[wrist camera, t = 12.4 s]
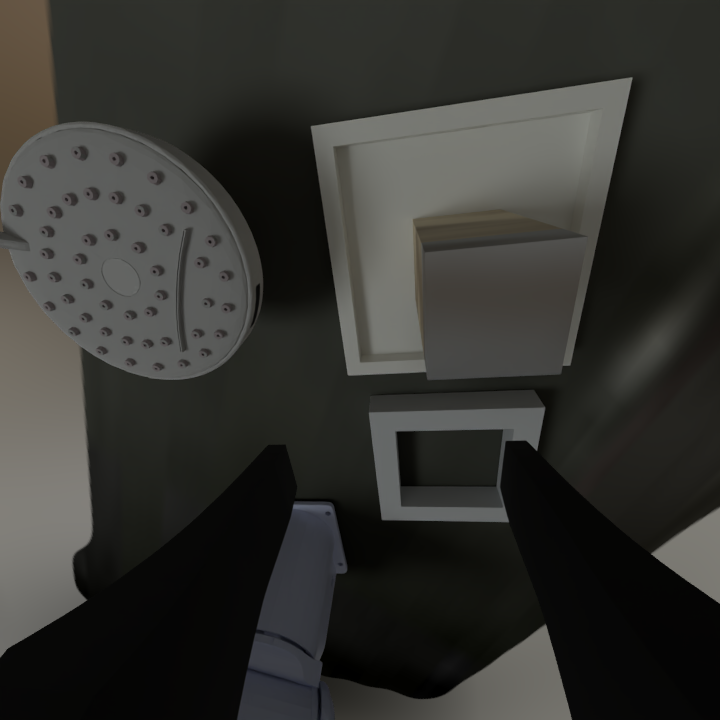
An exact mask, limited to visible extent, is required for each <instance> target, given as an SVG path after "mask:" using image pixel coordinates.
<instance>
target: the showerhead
mask: <svg viewBox="0 0 720 720" xmlns="http://www.w3.org/2000/svg"><path fill="white" fill-rule="evenodd" d="M0 205H1V219H2V225H3V231H4V232H0V248H5V249H9V252H10V255H11V257H12V260H13V263H14V265H15V267H16V269H17V271H18V273H19V275H20V276H21V278H22V280H23V282H24V284H25V286H26V288H27V289H28V291H29V292H30V294H31V295H32V296H33V298H34V299H35V301H36V302H37V303H38V305H39V306H40V307H41V309H42V310H43V311H44V312H45V313H46V314H47V315H48V317H49V318H50V319H51V320H52V321H53V322H54V323H55V324H56V325H57V326H58V327H59V328H60V329H61V330H62V331H63V332H64V333H65V334H66V335H68V336H69V337H70V338H71V339H72V340H74V341H75V342H76V343H77V344H78V345H79V346H81V347H82V348H84V349H85V350H87V351H88V352H90V353H91V354H93V355H94V356H96V357H98V358H100V359H101V360H103V361H105V362H107V363H109V364H111V365H113V366H115V367H118V368H120V369H123V370H125V371H127V372H130V373H134V374H137V375H141V376H145V377H149V378H156V379H165V380H178V379H187V378H193V377H197V376H200V375H204V374H206V373H208V372H211V371H213V370H214V369H216V368H218V367H220V366H221V365H222V364H224V363H225V362H226V361H227V360H228V359H229V358H230V357H231V356H233V354H234V353H235V352H236V351H237V349H238V348H239V347H240V346H241V344H242V343H243V342H244V341H245V340H246V338H247V337H248V336H249V334H250V333H251V331H252V330H253V328H254V325H255V323H256V321H257V318H258V315H259V313H260V309H261V304H262V297H263V274H262V266H261V261H260V256H259V253H258V249H257V246H256V243H255V240H254V238H253V235H252V232H251V230H250V228H249V226H248V224H247V222H246V220H245V218H244V217H243V215H242V213H241V211H240V210H239V208H238V206H237V205H236V204H235V202H234V201H233V199H232V198H231V196H230V195H229V194H228V193H227V191H226V190H225V189H224V188H223V186H222V185H221V184H220V183H219V182H218V181H217V180H216V179H215V178H214V177H213V176H212V175H211V174H210V173H209V172H208V171H207V170H206V169H205V168H204V167H202V166H201V165H200V164H199V163H198V162H196V161H195V160H194V159H193V158H191V157H190V156H189V155H187V154H186V153H184V152H183V151H181V150H179V149H178V148H176V147H175V146H173V145H171V144H169V143H167V142H165V141H163V140H161V139H158V138H155V137H152V136H149V135H146V134H143V133H140V132H137V131H133V130H129V129H125V128H120V127H116V126H112V125H107V124H101V123H95V122H71V123H64V124H60V125H56V126H52V127H50V128H47V129H45V130H43V131H41V132H39V133H38V134H36V135H34V136H33V137H31V138H30V139H29V140H28V141H27V142H26V143H24V144H23V146H22V147H21V148H20V149H19V150H18V151H17V153H16V154H15V156H14V157H13V158H12V160H11V163H10V165H9V168H8V170H7V172H6V175H5V177H4V180H3V187H2V195H1V203H0Z"/></svg>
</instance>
